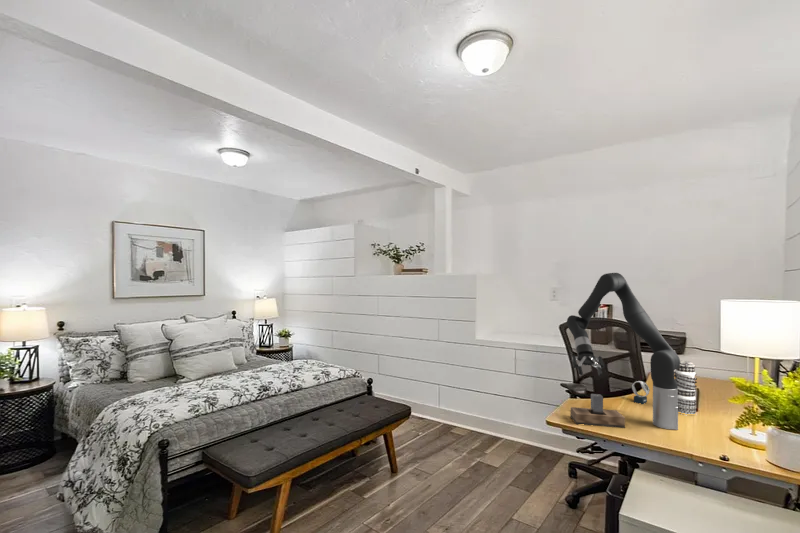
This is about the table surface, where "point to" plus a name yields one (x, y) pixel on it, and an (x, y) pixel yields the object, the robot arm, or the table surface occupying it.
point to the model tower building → (686, 387)
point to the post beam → (597, 417)
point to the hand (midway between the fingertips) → (590, 374)
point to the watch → (638, 397)
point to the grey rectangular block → (596, 404)
